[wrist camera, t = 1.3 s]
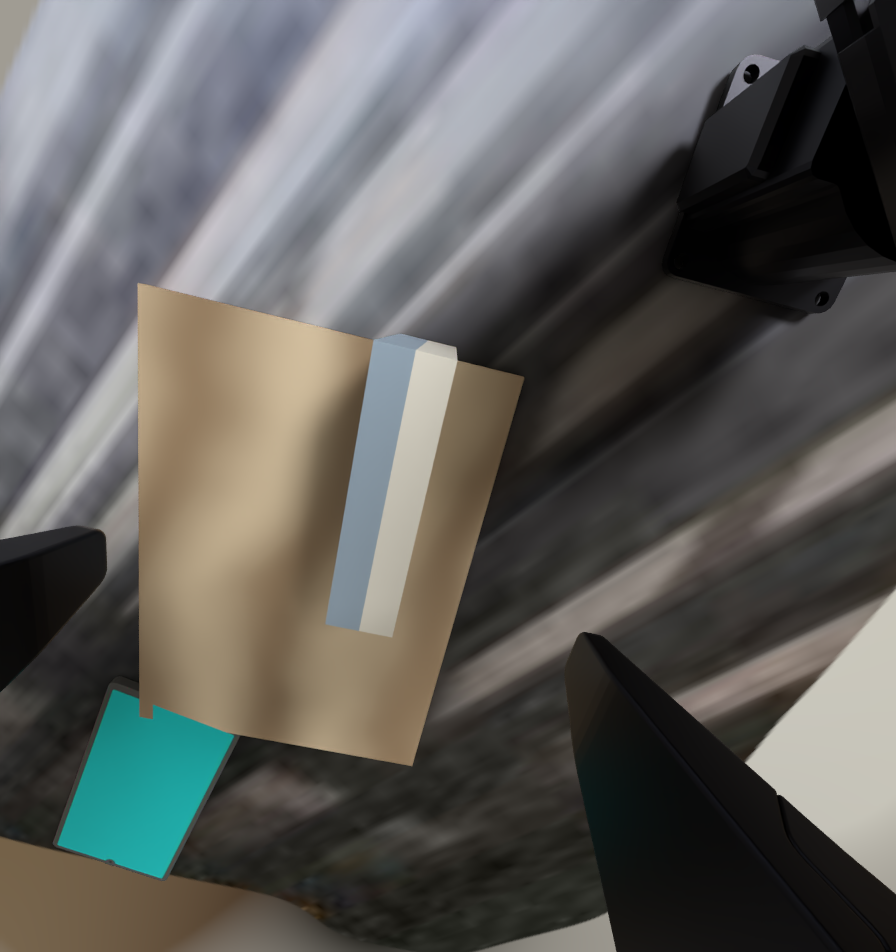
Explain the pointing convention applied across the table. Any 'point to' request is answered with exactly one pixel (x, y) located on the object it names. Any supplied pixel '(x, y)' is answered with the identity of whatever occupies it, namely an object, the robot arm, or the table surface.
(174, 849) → the smartphone
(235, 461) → the mat
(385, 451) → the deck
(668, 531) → the table surface
